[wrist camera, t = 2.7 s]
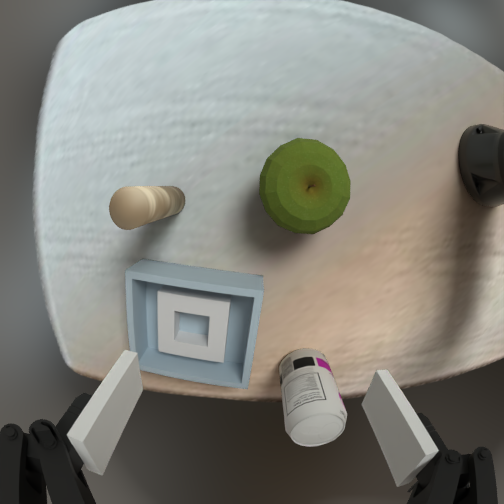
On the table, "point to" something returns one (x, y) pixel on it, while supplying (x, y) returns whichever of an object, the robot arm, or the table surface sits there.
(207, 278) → the crate
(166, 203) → the peg
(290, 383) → the supplement can
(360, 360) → the table surface
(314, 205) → the apple
